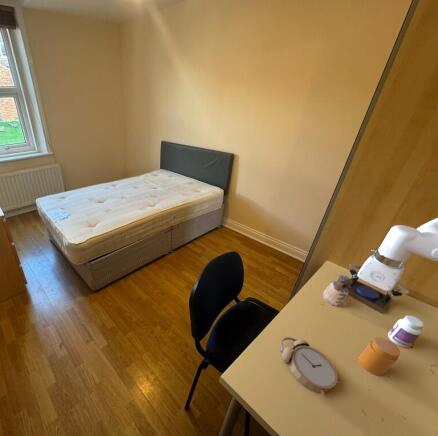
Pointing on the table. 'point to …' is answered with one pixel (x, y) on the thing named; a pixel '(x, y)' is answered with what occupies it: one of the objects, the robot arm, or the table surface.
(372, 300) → the lid
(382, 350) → the jar
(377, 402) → the table surface
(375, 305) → the tray
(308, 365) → the alarm clock
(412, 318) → the pill bottle
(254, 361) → the table surface
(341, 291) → the figurine
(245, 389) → the table surface
